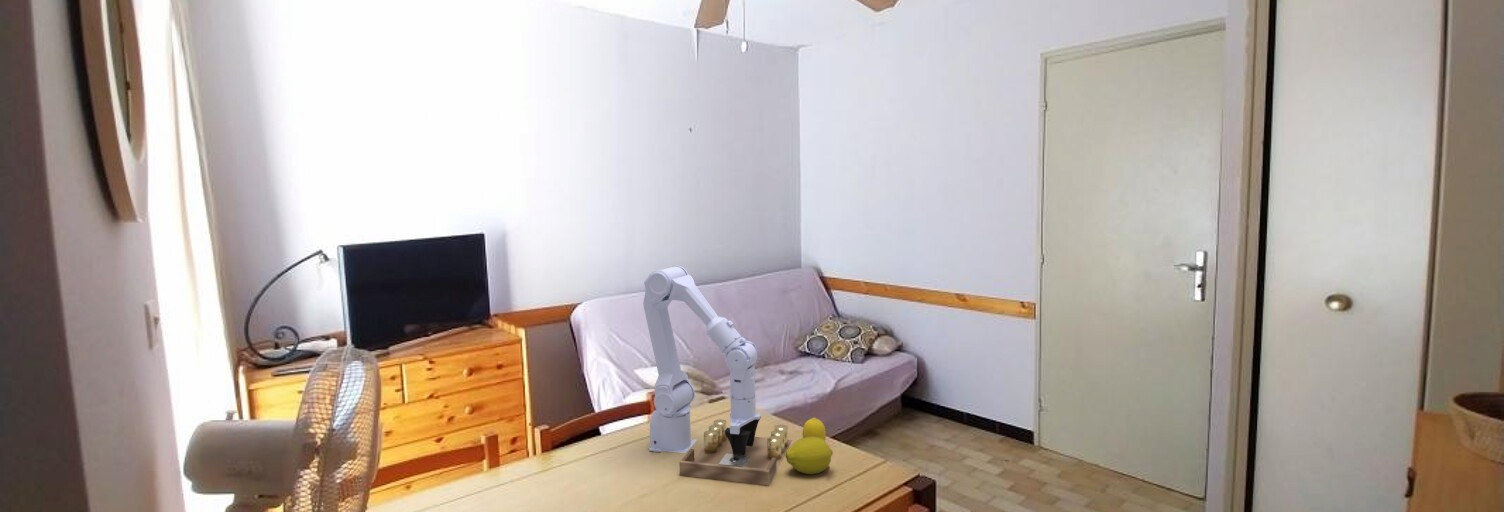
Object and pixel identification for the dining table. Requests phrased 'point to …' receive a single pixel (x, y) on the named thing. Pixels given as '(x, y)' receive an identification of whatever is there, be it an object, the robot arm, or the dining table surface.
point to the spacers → (717, 436)
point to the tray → (755, 474)
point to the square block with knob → (735, 460)
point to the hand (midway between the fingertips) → (744, 452)
